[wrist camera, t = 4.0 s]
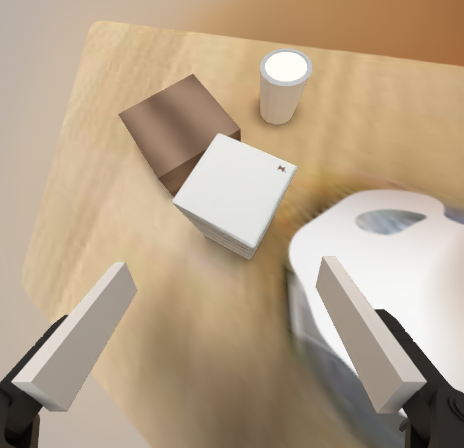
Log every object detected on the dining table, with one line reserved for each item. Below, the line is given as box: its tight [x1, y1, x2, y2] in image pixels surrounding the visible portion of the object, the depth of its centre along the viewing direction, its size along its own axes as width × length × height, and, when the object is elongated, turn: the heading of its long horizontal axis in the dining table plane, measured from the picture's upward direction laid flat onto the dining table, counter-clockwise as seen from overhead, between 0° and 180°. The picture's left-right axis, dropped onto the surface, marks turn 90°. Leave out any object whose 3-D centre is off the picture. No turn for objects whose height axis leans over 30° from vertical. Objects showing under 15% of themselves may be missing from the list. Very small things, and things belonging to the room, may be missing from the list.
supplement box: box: [172, 133, 297, 260], centre depth 20 cm, size 7×7×13 cm
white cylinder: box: [260, 49, 312, 125], centre depth 28 cm, size 7×7×7 cm
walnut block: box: [118, 74, 241, 197], centre depth 27 cm, size 12×12×6 cm
